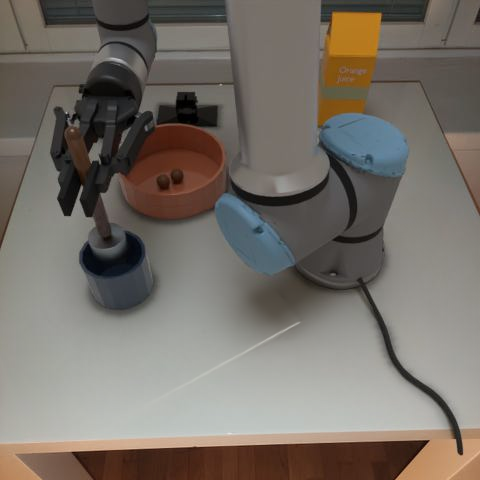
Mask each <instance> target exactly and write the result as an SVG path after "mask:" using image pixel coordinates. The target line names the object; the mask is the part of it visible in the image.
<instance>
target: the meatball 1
mask: <svg viewBox="0 0 480 480" xmlns="http://www.w3.org/2000/svg"><path fill="white" fill-rule="evenodd" d="M156 182H157V185H158V186H159V187H160V188H167V187H168V186H169V184H170V179H169V177H168V176H167V175H164V174H162V175H159V176H158V177H157V180H156Z"/></svg>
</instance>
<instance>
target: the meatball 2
mask: <svg viewBox="0 0 480 480" xmlns="http://www.w3.org/2000/svg"><path fill="white" fill-rule="evenodd" d="M170 177H171V179H172V180H173V181H174V182H180V181H182V180H183V177H184V174H183V172H182V171H181V170H180V169H173V170H172V171H171V174H170Z"/></svg>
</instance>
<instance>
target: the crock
mask: <svg viewBox="0 0 480 480" xmlns="http://www.w3.org/2000/svg"><path fill="white" fill-rule="evenodd" d="M123 230H124V232H125V236H126V239H127V243H128V247H129V250H128V253H127V255H126V256H125V257H124V258H123V259H122V260H120V261H118V262H115V263H102V262H100V261H98V260H97V259H96V258H95V257H94V255H93V252H92V249H91V247H90V244H89V241H88V240H87V241H85V242H84V243H83V245H82V247H81V249H80V250H79V252H78V253H79V254H78V264H79V266H80V268H81V270H82V273H83V275H84V278H85V281H86V282H87V285H88V287H89V290H90V292H91V294H92V296H93V298H94V299H95V302H97V303H98V304H99V305H100V306H102V307H104V308H106V309H109V310H117V311H120V310H121V311H122V310H127V309H132V308H134V307H136V306H138V305H140V304H142V303H143V302H144V301H145V300H146V299H147V298H148V297H149V296H150V295H151V292H152V289H153V287H154V281H153V273H152V270H151V265H150V260H149V257H148V253H147V248H146V244H145V243H144V241H143V240H142V239H141V237H140V236H138V235H137V234H135V233H133V232H132V231H130V230H125V229H123Z"/></svg>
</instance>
